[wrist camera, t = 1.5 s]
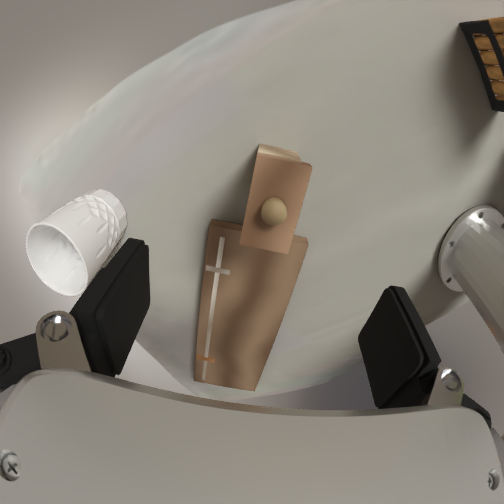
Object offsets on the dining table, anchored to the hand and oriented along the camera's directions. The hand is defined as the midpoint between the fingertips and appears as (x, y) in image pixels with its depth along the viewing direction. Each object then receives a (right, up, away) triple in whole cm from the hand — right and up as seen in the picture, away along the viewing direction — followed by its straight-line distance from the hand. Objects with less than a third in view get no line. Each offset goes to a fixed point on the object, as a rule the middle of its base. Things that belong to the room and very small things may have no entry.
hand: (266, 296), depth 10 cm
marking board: (-2, -8, +26) cm, 27 cm away
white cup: (-18, +6, +19) cm, 27 cm away
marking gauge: (+1, +9, +16) cm, 18 cm away
